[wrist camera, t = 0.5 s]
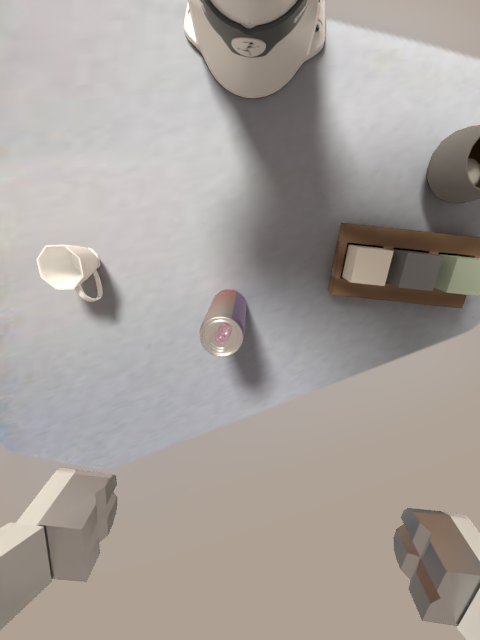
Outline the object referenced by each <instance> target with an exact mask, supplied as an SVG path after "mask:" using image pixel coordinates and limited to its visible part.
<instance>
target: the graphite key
mask: <svg viewBox="0 0 480 640" xmlns="http://www.w3.org/2000/svg"><path fill="white" fill-rule="evenodd" d="M443 257H444V256H439V255H435V254H430V253H424V252H415V251H405V250H396V249H394V252H393V256H392V260H391V264H390V267H389V271H388V275H387V279H386V282H388V283H390V284H392V285H394V286H396V287H398V288H408V289H417V290H427V291H433V289H434V285H435V282H436V279H437V276H438V273H439V270H440V266H441V263H442V260H443Z"/></svg>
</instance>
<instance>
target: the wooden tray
mask: <svg viewBox="0 0 480 640" xmlns="http://www.w3.org/2000/svg"><path fill="white" fill-rule="evenodd" d="M347 243H358V244H367V245H376V247H377V248H383V249H387V250H391V251H392V250H393V247H396V248H405V249H415V250H419V252H424V253H430V254H435V255H438V254H439V252H443V253H452V254H462V257H472V258H477V259H479V258H480V237H470V236H461V235H451V234H442V233H432V232H423V231H413V230H404V229H394V228H385V227H375V226H366V225H356V224H347V223H341V227H340V232H339V237H338V242H337V247H336V252H335V257H334V262H333V267H332V272H331V277H330V282H329V287H328V291H329V292H330V293H331V294H332V295H341V296H351V297H360V298H369V299H379V300H388V301H398V302H407V303H417V304H426V305H435V306H445V307H454V308H462V306H463V304H464V301H465V298H466V295H464V294H455V293H446V292H444V291H441V290H439V289H436V288H434V289H433V291H427V290H417V289H408V288H398V287H396V286H394V285H392V284H390V283H388V282H386V283H385V286H379V285H370V284H361V283H351V282H349V281H348V280H346V279H345V278H343V277H342V276H341V271H342V267H343V262H344V257H345V252H346V247H347Z"/></svg>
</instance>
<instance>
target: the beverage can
mask: <svg viewBox="0 0 480 640" xmlns="http://www.w3.org/2000/svg"><path fill="white" fill-rule="evenodd" d="M245 321H246V301H245V299H244V297H243V296H242V295H241V294H240V293H239V292H237V291H235V290H223V291H221V292H219V293H218V294H217V295H216V296H215V297H214V299H213V301H212V304H211V306H210V308H209V310H208V312H207V314H206V317H205V319H204V321H203V323H202V325H201V328H200V340H201V343H202V345H203V347H204V348H205V350H206V351H208V352H209V353H210V354H212V355H215V356H219V357H225V356H230V355H232V354H234V353H235V352H236V351H237V350H238V349H239V348H240V347H241V345H242V343H243V341H244V336H245Z"/></svg>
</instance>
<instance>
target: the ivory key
mask: <svg viewBox="0 0 480 640" xmlns="http://www.w3.org/2000/svg"><path fill="white" fill-rule="evenodd" d="M393 252H394V251H391V250H387V249H383V248H377V247H367V246H358V245H348V250H347V255H346V260H345V264H344V269H343V274H342V277H343V278H345V279H346V280H348V281H349V282H351V283H361V284H370V285H379V286H385V283H386V279H387V275H388V271H389V267H390V264H391V260H392V256H393Z"/></svg>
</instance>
